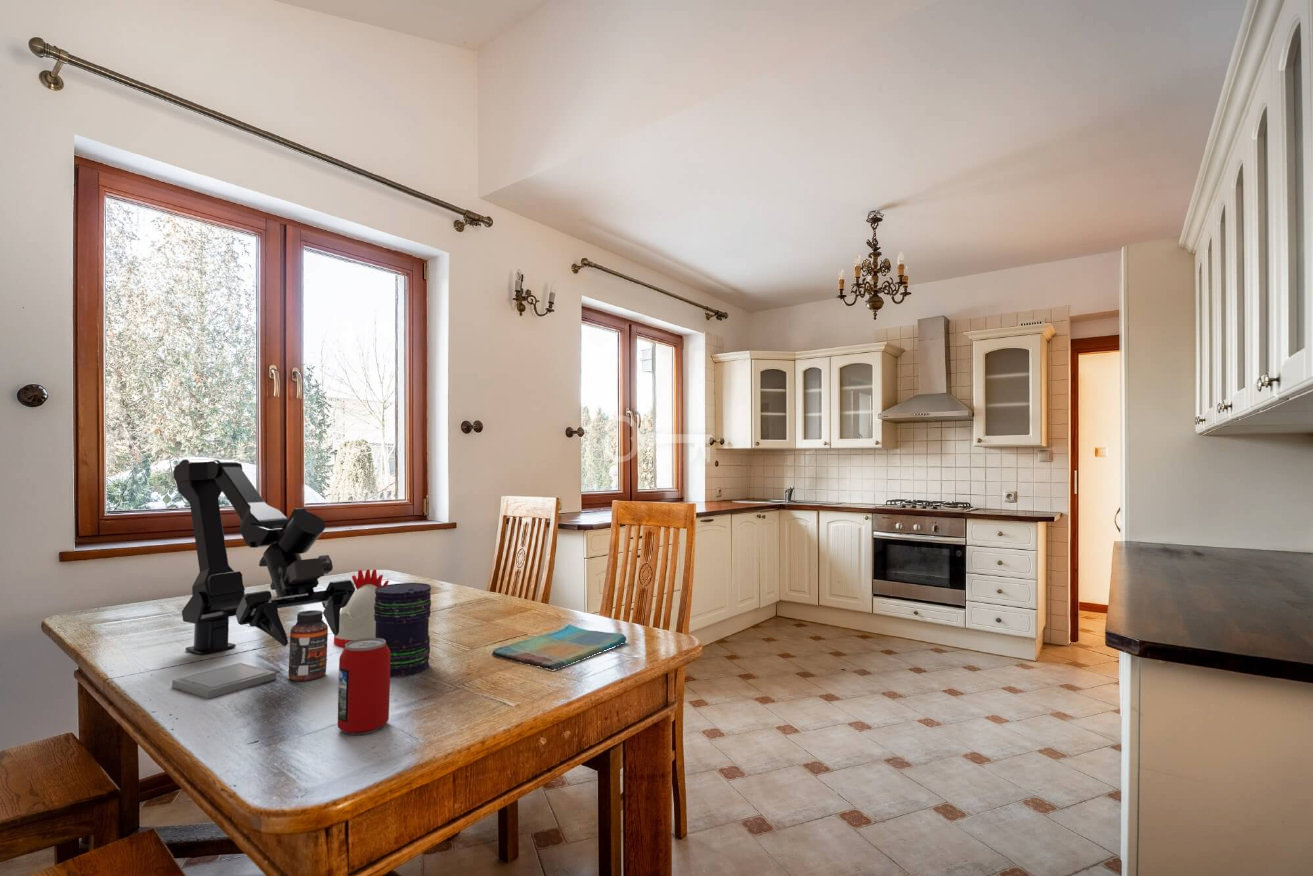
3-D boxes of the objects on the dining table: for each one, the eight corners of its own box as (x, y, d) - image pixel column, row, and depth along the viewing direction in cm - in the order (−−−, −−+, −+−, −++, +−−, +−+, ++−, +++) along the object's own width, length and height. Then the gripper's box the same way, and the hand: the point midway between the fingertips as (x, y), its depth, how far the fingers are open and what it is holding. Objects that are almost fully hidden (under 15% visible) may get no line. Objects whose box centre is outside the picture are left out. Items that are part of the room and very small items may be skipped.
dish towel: (629, 645, 137) (629, 633, 137) (554, 675, 118) (554, 661, 118) (568, 634, 147) (568, 622, 147) (489, 659, 127) (489, 646, 127)
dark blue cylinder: (363, 669, 118) (365, 587, 119) (414, 658, 126) (415, 580, 126) (387, 681, 112) (389, 595, 112) (439, 669, 119) (441, 587, 119)
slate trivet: (171, 687, 108) (172, 679, 108) (240, 669, 118) (240, 662, 118) (208, 698, 103) (208, 690, 103) (276, 679, 113) (276, 671, 113)
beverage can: (348, 719, 95) (350, 637, 96) (395, 717, 96) (397, 636, 96) (328, 738, 88) (331, 649, 89) (379, 736, 89) (381, 648, 90)
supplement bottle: (309, 683, 111) (312, 617, 111) (280, 680, 112) (282, 615, 112) (334, 672, 116) (335, 609, 117) (305, 670, 118) (307, 607, 118)
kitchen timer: (359, 630, 147) (360, 564, 148) (415, 632, 145) (417, 565, 146) (319, 646, 133) (321, 573, 134) (381, 649, 131) (382, 575, 132)
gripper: (244, 546, 110) (269, 621, 103) (352, 537, 125) (380, 602, 118) (225, 587, 115) (248, 661, 107) (331, 574, 129) (357, 638, 122)
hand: (312, 639), depth 114 cm, fingers open, 8 cm apart
